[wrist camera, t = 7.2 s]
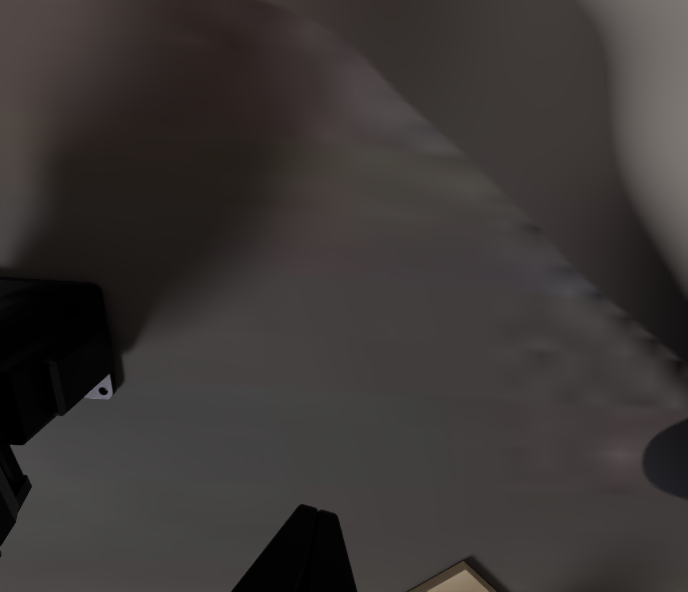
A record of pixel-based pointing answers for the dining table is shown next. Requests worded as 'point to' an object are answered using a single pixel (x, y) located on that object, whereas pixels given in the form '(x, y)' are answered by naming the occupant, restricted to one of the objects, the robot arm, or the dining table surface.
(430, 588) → the board
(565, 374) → the dining table surface
